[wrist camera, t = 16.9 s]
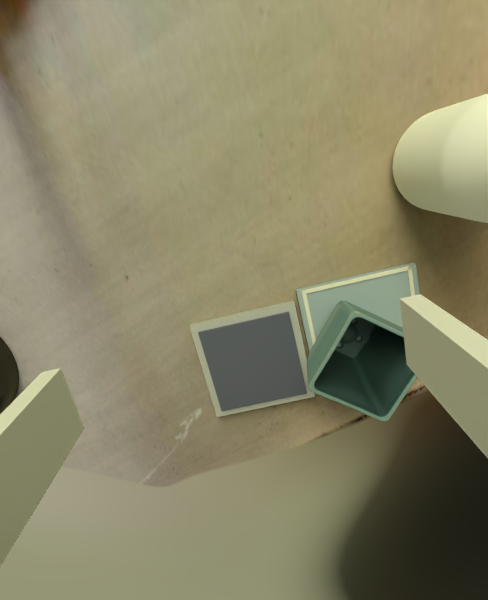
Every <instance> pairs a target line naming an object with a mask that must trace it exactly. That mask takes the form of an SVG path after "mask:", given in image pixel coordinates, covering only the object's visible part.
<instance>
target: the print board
mask: <svg viewBox="0 0 488 600" xmlns="http://www.w3.org/2000/svg"><path fill="white" fill-rule="evenodd" d="M296 293H297V298H298V302H299V307H300V312H301V316H302V321H303V325H304V330H305V335H306V339H307V344H308V349H309V353H310V350H311V348H312V347H313V345H314V343H315V342H316V340H317V338H318V336H319V335H320V333H321V331H322V330H323V328H324V326H325V324H326V323H327V321H328V319H329V318H330V316H331V314H332V312H333V311H334V309H335V307H336V305H337V304H338V303H339V302H340V301H347V302H350V303H352V304H354V305H356V306H358V307H360V308H362V309H364V310H366V311H369V312H371V313H373V314H375V315H377V316H379V317H381V318H383V319H386V320H388V321H390V322H392V323H394V324H396V325H398V326H401V327H403V325H402V315H401V306H400V298H405V297H410V296H414V295H419V294H420V293H419V285H418V277H417V269H416V264H415V263H413V262H412V263H408V264H403V265H399V266H395V267H390V268H386V269H382V270H377V271H373V272H369V273H364V274H360V275H356V276H351V277H347V278H343V279H338V280H334V281H330V282H325V283H321V284H317V285H312V286H308V287H304V288H299V289H296ZM355 322H356V319H353V320H352V323H355ZM357 340H361V337H360V336H359V337H358V338H357ZM337 346H338V347H341V346H342V344H341V343H338V345H337Z"/></svg>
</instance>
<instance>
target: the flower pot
mask: <svg viewBox="0 0 488 600" xmlns="http://www.w3.org/2000/svg"><path fill="white" fill-rule="evenodd" d="M353 319H356V322H355V323H352V320H353ZM359 336H360V337H361V340H357V338H358V337H359ZM338 343H341V344H342V346H341V347H338V346H337V345H338ZM307 378H308V389H309V390H310V391H311V392H314V393H316V394H318V395H321V396H323V397H326V398H328V399H330V400H333V401H335V402H338V403H340V404H342V405H345V406H347V407H350V408H352V409H355V410H357V411H359V412H361V413H364V414H366V415H368V416H371V417H373V418H375V419H377V420H379V421H387V420H389V418H390V417H391V416H392V414H393V413H394V411H395V410H396V408H397V407H398V405H399V404H400V402H401V401H402V399H403V398H404V396H405V395H406V393H407V392H408V390H409V389H410V387H411V386H412V384H413V383H414V381H415V380H416V378H417V376H416V375H415V374H414V372H413V371H412V370H411V369H410V368H409V367H408V365H407V362H406V353H405V344H404V334H403V327H401V326H398V325H396V324H394V323H392V322H390V321H388V320H386V319H383V318H381V317H379V316H377V315H375V314H373V313H371V312H369V311H366V310H364V309H362V308H360V307H358V306H356V305H354V304H352V303H350V302H347V301H340V302H339V303H338V304H337V305H336V307H335V309H334V311H333V312H332V314H331V316H330V318H329V319H328V321H327V323H326V324H325V326H324V328H323V330H322V331H321V333H320V335H319V336H318V338H317V340H316V342H315V343H314V345H313V347H312V348H311V350H310V353H309V355H308V359H307Z"/></svg>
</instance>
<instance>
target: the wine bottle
mask: <svg viewBox="0 0 488 600" xmlns="http://www.w3.org/2000/svg"><path fill="white" fill-rule="evenodd" d="M393 177H394V180H395V184H396V186H397V188H398V190H399V192H400V193H401V194H402V195H403V197H404V198H405V199H406V200H407V201H408V202H410V203H411V204H413V205H414V206H416V207H418V208H421V209H424V210H428V211H433V212H437V213H442V214H446V215H451V216H455V217H460V218H464V219H469V220H473V221H478V222H484V223H488V94H485V95H482V96H479V97H476V98H473V99H470V100H466V101H463V102H460V103H457V104H454V105H451V106H448V107H445V108H442V109H438V110H435V111H433V112H430V113H428V114H426V115H424V116H422V117H421V118H419V119H418V120H416V121H415V122H414V123H413V124H412V125H411V126H410V127H409V128H408V129H407V130H406V132H405V133H404V134H403V136H402V137H401V139H400V141H399V142H398V145H397V147H396V150H395V153H394V157H393Z"/></svg>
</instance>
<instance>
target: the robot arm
mask: <svg viewBox="0 0 488 600" xmlns="http://www.w3.org/2000/svg"><path fill="white" fill-rule="evenodd" d="M400 306H401V315H402V325H403V334H404V344H405V353H406V362H407V365H408V367H409V368H410V369H411V370H412V371H413V372H414V374H415V375H416V376H417V377H418V378H419V379H420V381H421V382H422V383H423V384H424V385H425V386H426V387H427V389H428V390H429V391H430V392H431V393H432V394H433V396H434V397H436V399H437V400H438V401H439V402H440V404H441V405H442V406H443V407H444V408H445V409H446V411H447V412H448V413H449V414H450V415H451V416H452V418H453V419H454V420H455V421H456V422H457V423H458V424H459V425H460V426H461V428H462V429H463V430H464V431H465V433H466V434H467V435H468V436H469V437H470V438H471V439H472V441H473V442H474V443H475V444H476V445H477V446H478V447H479V449H480V450H481V451H482V452H483V453H484V454H485V456H486V457H487V458H488V340H487V339H486V338H484V337H483V336H481V335H480V334H478V333H477V332H475V331H474V330H472V329H471V328H469V327H468V326H466V325H465V324H464V323H462V322H461V321H459V320H458V319H456V318H455V317H453V316H452V315H450V314H449V313H447V312H446V311H444V310H443V309H441V308H440V307H439V306H437V305H436V304H434V303H433V302H431V301H430V300H428V299H427V298H425V297H424V296H422V295H421V294H419V295H414V296H410V297H405V298H400ZM17 388H18V371H17V367H16V363H15V360H14V358H13V356H12V354H11V352H10V350H9V348H8V347H7V345H6V344H5V343H4V341H3V340H2V339H1V338H0V566H1V565H2V563H3V561H4V560H5V558H6V557H7V555H8V553H9V552H10V550H11V548H12V546H13V545H14V543H15V542H16V540H17V538H18V537H19V535H20V533H21V532H22V530H23V528H24V526H25V525H26V524H27V522H28V520H29V519H30V517H31V515H32V514H33V512H34V510H35V509H36V507H37V505H38V504H39V502H40V500H41V499H42V497H43V495H44V494H45V492H46V490H47V489H48V487H49V485H50V484H51V482H52V480H53V479H54V477H55V476H56V474H57V472H58V470H59V469H60V467H61V466H62V464H63V462H64V461H65V459H66V457H67V456H68V454H69V452H70V451H71V449H72V447H73V446H74V444H75V442H76V441H77V439H78V438H79V436H80V434H81V433H82V431H83V429H84V426H83V424H82V421H81V418H80V416H79V413H78V411H77V408H76V406H75V403H74V401H73V398H72V395H71V393H70V390H69V388H68V385H67V383H66V380H65V378H64V375H63V372H62V370H61V368H60V369H55V370H50V371H45V372H42V373H41V374H40V375H39V376H38V377H37V378H36V379H35V380H34V381H33V382H32V383H31V384H30V385H29V386H28V387H27V388H26V389H25V390H24V391H23V392H22V393H21V394H20V395H19V396H18V397H17V398H16V399H15V400H14V398H15V395H16V392H17ZM13 400H14V401H13Z"/></svg>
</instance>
